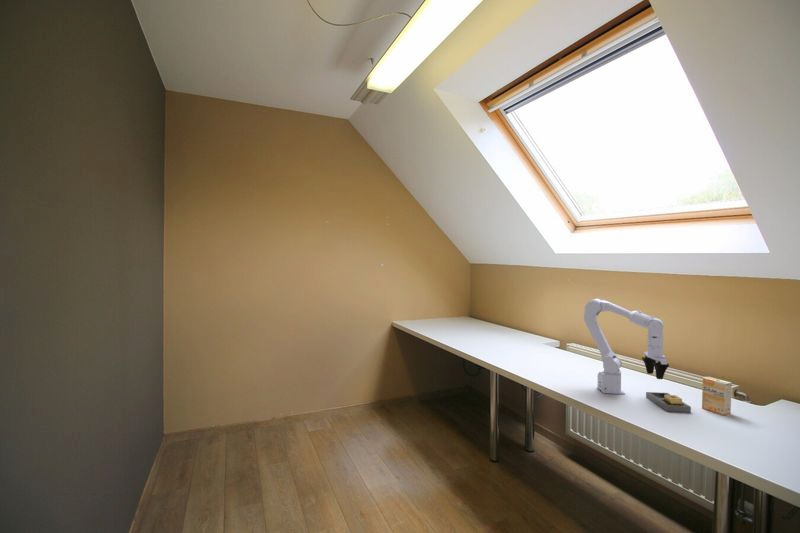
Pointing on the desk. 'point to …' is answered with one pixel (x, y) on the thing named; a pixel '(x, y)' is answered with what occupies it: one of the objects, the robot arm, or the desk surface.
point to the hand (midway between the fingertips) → (654, 376)
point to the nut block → (672, 400)
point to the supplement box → (716, 395)
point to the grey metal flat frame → (659, 400)
